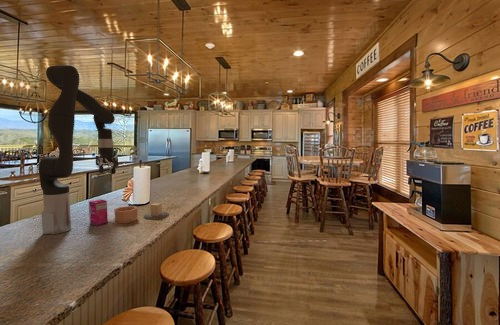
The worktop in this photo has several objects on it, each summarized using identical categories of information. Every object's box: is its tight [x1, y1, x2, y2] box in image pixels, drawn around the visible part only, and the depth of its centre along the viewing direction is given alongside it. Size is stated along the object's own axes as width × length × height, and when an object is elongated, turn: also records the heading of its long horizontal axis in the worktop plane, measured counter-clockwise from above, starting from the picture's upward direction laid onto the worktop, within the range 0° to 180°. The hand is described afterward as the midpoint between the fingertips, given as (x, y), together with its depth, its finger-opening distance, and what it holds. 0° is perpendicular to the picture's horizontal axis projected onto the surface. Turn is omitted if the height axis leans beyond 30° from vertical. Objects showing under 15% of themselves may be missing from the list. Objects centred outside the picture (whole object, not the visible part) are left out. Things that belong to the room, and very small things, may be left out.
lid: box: [143, 202, 170, 221], centre depth 134 cm, size 13×13×7 cm
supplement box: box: [88, 199, 109, 227], centre depth 119 cm, size 6×6×12 cm
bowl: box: [113, 205, 138, 224], centre depth 126 cm, size 10×10×6 cm
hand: (107, 173), depth 146 cm, fingers open, 8 cm apart
